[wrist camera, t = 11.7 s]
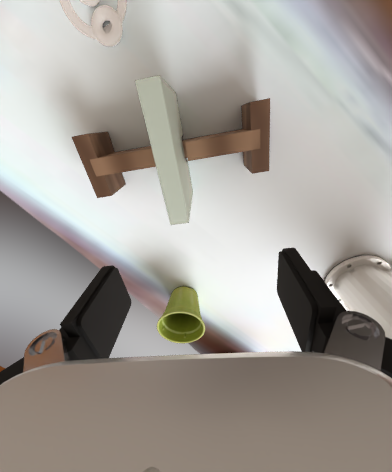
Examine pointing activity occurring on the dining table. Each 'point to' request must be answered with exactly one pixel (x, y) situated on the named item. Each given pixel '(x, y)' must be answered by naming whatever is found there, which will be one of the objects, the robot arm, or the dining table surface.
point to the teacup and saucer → (99, 21)
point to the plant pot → (182, 317)
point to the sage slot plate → (167, 145)
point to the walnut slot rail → (244, 140)
